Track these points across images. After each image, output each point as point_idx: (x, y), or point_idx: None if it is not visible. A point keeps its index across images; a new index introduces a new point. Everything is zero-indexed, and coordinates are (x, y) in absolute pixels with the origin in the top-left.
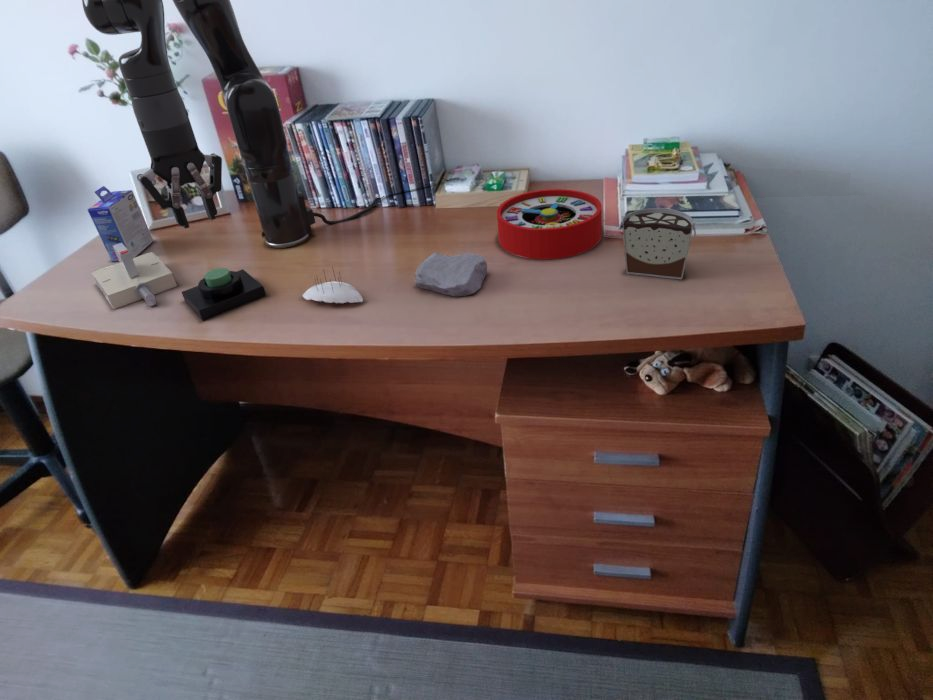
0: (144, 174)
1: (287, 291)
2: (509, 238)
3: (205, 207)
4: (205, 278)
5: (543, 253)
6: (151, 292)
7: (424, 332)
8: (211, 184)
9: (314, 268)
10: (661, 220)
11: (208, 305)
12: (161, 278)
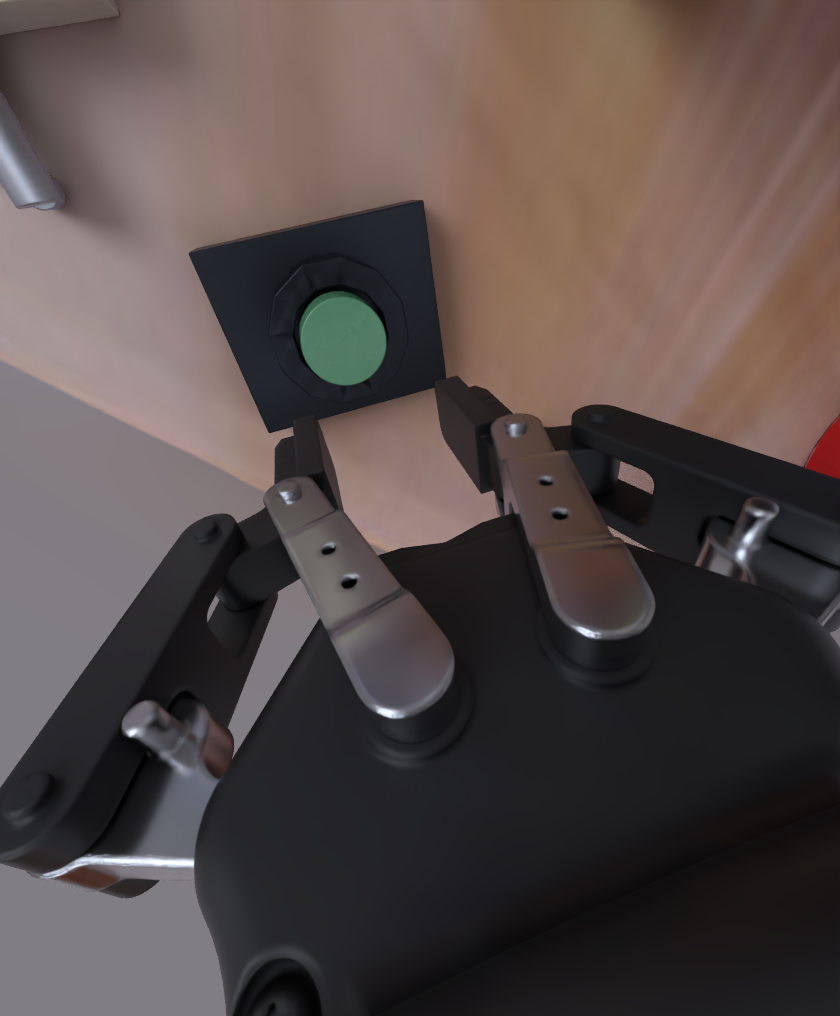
0: (121, 873)
1: (486, 376)
2: (836, 472)
3: (455, 419)
4: (305, 359)
5: None
6: (31, 164)
7: None
8: (589, 468)
9: (591, 278)
10: None
11: (295, 417)
12: (35, 3)
